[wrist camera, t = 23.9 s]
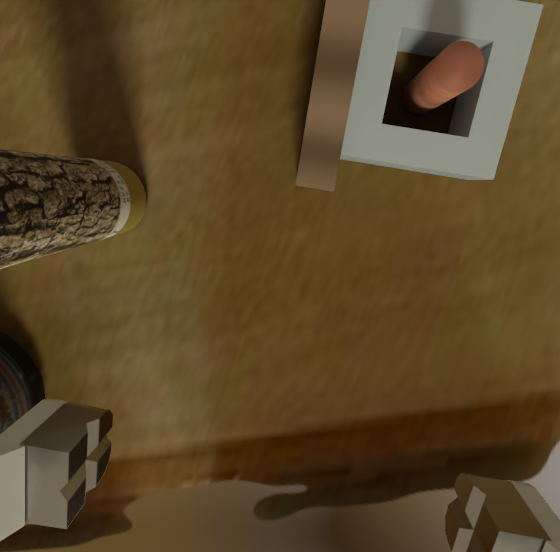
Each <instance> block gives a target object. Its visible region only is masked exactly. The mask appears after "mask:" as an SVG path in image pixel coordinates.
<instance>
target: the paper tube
mask: <svg viewBox="0 0 560 552" xmlns="http://www.w3.org/2000/svg"><path fill="white" fill-rule="evenodd" d="M145 209H146V193H145V189H144V187H143V184H142V182H141V181H140V179H139V178H138V176H137V175H136V174H135V173H134V172H133V171H132V170H131V169H129V168H128V167H126V166H125V165H123V164H120V163H117V162H114V161H105V160H95V159H88V158H78V157H69V156H59V155H49V154H39V153H29V152H19V151H9V150H0V269H2V268H6V267H9V266H13V265H16V264H20V263H23V262H26V261H30V260H33V259H37V258H40V257H44V256H47V255H50V254H54V253H57V252H61V251H64V250H68V249H71V248H74V247H78V246H81V245H85V244H88V243H92V242H95V241H98V240H102V239H105V238H108V237H111V236H115V235H118V234H121V233H125V232H127V231H129V230H131V229H133V228H134V227H135V226H136V225H137V224H138V223H139V222H140V221H141V219H142V217H143V215H144V213H145Z"/></svg>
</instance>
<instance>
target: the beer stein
mask: <svg viewBox="0 0 560 552" xmlns="http://www.w3.org/2000/svg"><path fill="white" fill-rule="evenodd" d="M43 399H45V396H44V389H43V382H42V377H41V375H40V373H39V371H38V370H37V368H36V366H35V365H34V363H33V361H32V359H31V358H30V356H29V355H28V354H27V353H26V352H25V351H24V350H23V349H22V348H21V347H20V346H19V345H18V344H16V343H15V342H14V341H13V340H12V339H11V338H10V337H9V336H8V335H5V334H3V333H0V434H1V433H3V432H4V431H5V430H6V429H7V428H9V427H10V426H11V425H12V424H14V423H15V422H16V421H17V420H18V419H20V418H21V417H22V416H23V415H25V414H26V413H27V412H28V411H29V410H31V409H32V408H33V407H34V406H36V405H37V404H38V403H39V402H40V401H42V400H43Z"/></svg>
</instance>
